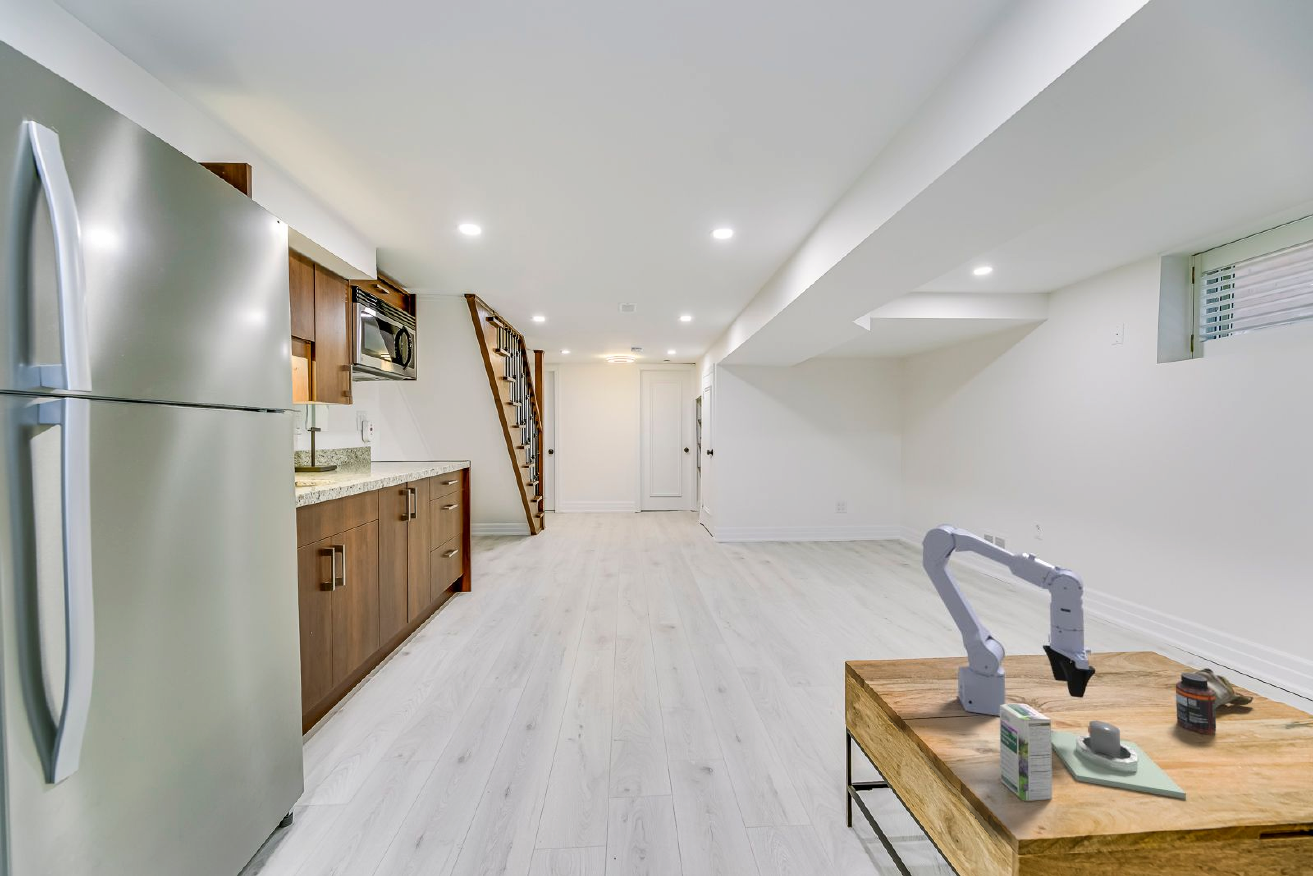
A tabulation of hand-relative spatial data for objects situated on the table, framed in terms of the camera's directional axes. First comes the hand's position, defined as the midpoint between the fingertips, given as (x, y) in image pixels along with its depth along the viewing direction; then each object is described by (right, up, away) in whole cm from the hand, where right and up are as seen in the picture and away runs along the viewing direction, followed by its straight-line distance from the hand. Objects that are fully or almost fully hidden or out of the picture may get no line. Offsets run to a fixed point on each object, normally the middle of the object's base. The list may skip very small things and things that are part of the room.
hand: (1068, 688), depth 110 cm
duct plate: (-2, -9, -11) cm, 15 cm away
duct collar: (-2, -9, -11) cm, 15 cm away
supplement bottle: (+29, -9, +1) cm, 30 cm away
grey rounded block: (-2, -8, -11) cm, 14 cm away
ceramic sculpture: (+43, -9, +11) cm, 46 cm away
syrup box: (-23, -10, -19) cm, 31 cm away
